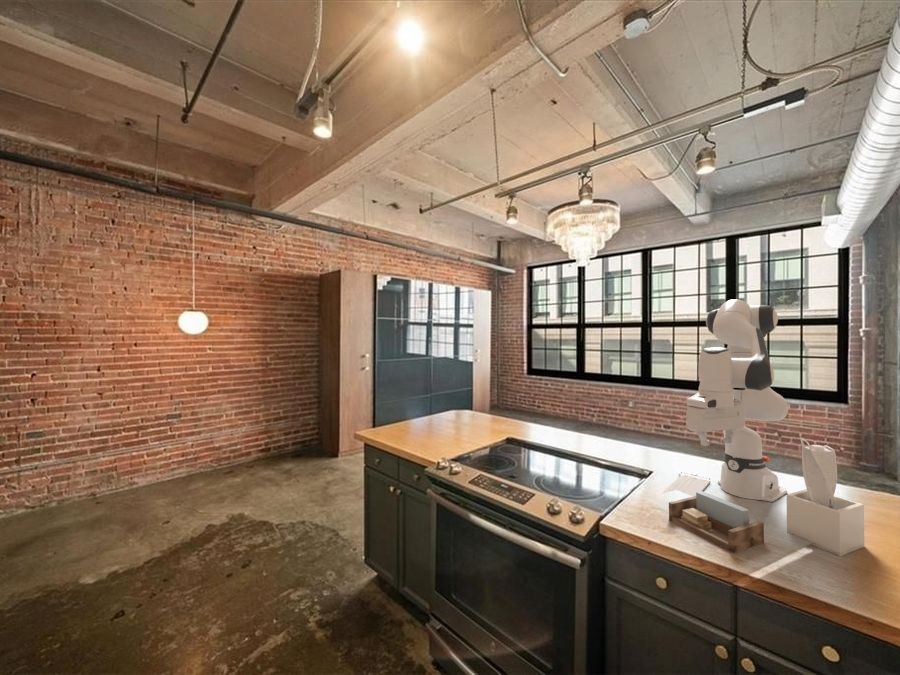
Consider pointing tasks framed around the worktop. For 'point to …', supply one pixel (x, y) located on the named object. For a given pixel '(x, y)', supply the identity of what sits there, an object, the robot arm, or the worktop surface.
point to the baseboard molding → (688, 485)
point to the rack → (719, 528)
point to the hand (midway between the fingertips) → (716, 444)
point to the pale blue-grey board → (722, 510)
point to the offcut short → (695, 516)
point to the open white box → (826, 523)
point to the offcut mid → (704, 526)
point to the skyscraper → (820, 473)
